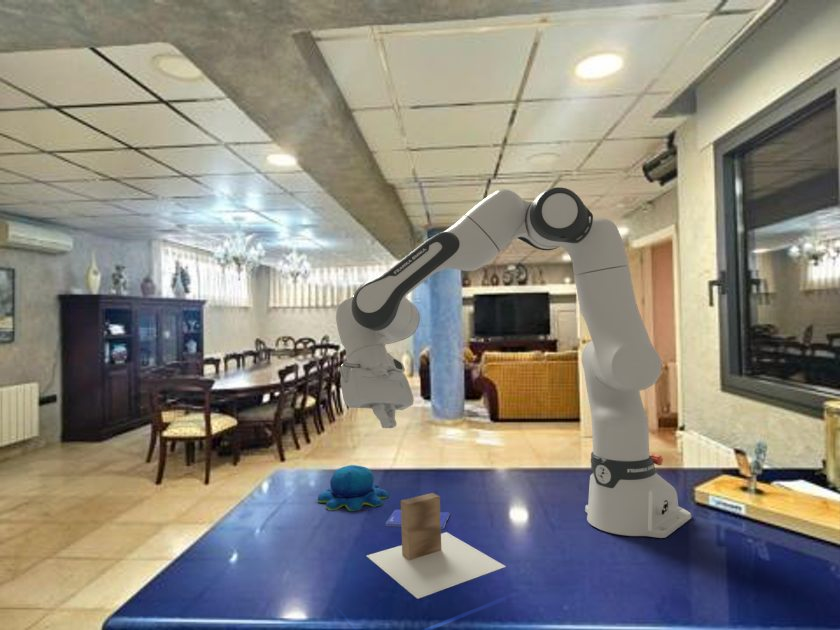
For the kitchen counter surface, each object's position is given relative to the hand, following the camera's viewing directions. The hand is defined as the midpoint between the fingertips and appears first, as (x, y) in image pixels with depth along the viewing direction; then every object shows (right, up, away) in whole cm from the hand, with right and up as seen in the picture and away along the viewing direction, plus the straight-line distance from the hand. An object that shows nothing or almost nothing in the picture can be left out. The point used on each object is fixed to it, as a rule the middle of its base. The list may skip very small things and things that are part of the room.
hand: (389, 427), depth 105 cm
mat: (+9, -21, -14) cm, 27 cm away
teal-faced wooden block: (+7, -21, -10) cm, 24 cm away
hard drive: (+6, -23, +6) cm, 24 cm away
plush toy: (-10, -23, +22) cm, 33 cm away
